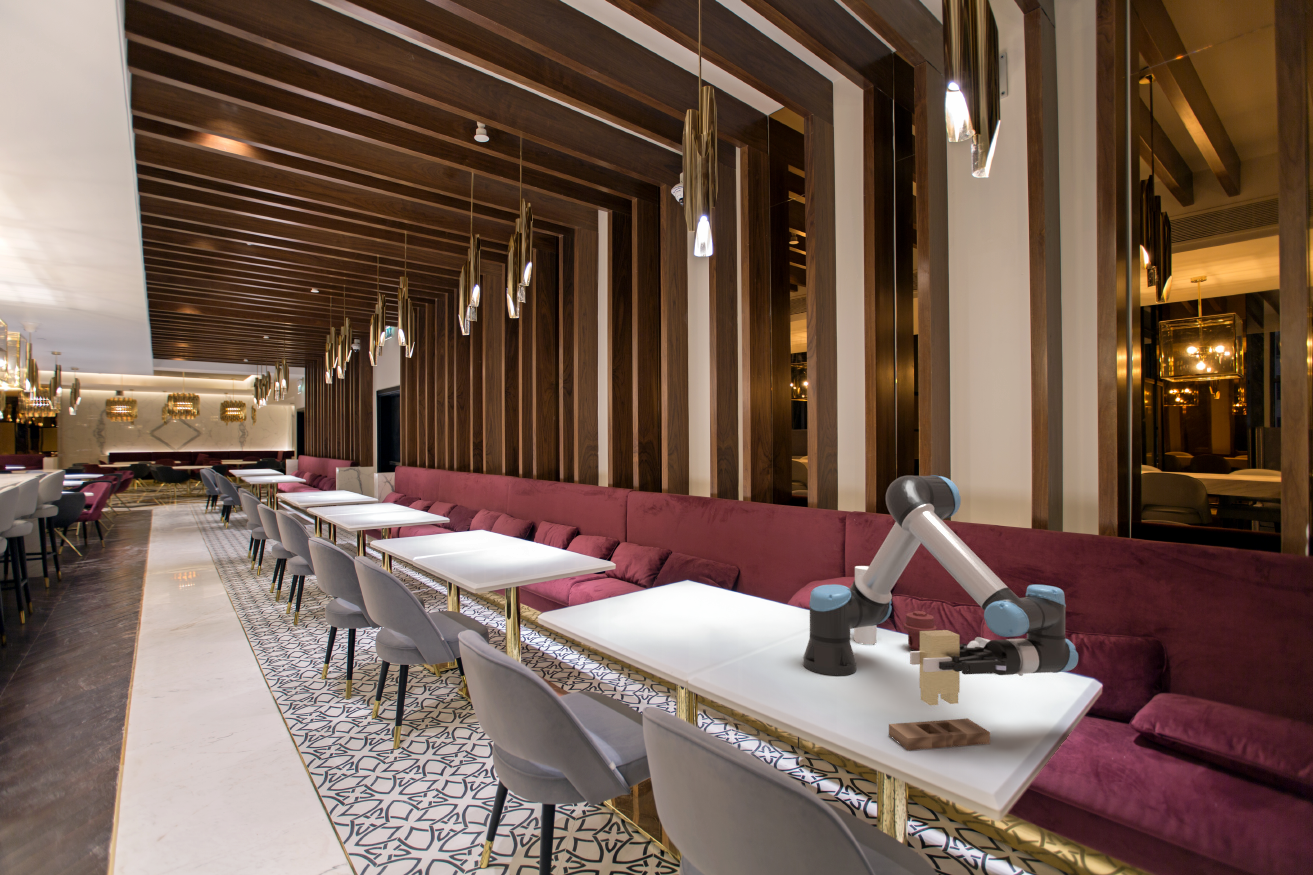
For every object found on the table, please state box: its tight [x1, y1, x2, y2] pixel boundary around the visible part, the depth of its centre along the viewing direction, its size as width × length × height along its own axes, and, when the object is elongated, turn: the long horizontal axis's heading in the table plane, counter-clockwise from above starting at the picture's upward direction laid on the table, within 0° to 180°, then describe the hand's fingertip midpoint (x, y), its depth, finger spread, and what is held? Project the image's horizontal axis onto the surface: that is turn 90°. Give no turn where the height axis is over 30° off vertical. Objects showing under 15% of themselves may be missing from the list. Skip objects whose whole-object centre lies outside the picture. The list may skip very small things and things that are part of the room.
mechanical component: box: [902, 610, 938, 651], centre depth 197 cm, size 12×10×10 cm
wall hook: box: [966, 636, 991, 648], centre depth 180 cm, size 8×10×10 cm
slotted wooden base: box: [888, 718, 991, 751], centre depth 133 cm, size 20×7×2 cm, turn 101°
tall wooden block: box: [919, 629, 961, 706], centre depth 134 cm, size 7×4×15 cm, turn 101°
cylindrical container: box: [853, 565, 878, 645], centre depth 206 cm, size 7×7×25 cm
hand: (917, 661), depth 133 cm, fingers closed on tall wooden block, 4 cm apart
